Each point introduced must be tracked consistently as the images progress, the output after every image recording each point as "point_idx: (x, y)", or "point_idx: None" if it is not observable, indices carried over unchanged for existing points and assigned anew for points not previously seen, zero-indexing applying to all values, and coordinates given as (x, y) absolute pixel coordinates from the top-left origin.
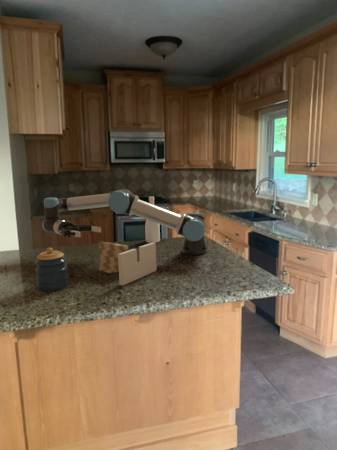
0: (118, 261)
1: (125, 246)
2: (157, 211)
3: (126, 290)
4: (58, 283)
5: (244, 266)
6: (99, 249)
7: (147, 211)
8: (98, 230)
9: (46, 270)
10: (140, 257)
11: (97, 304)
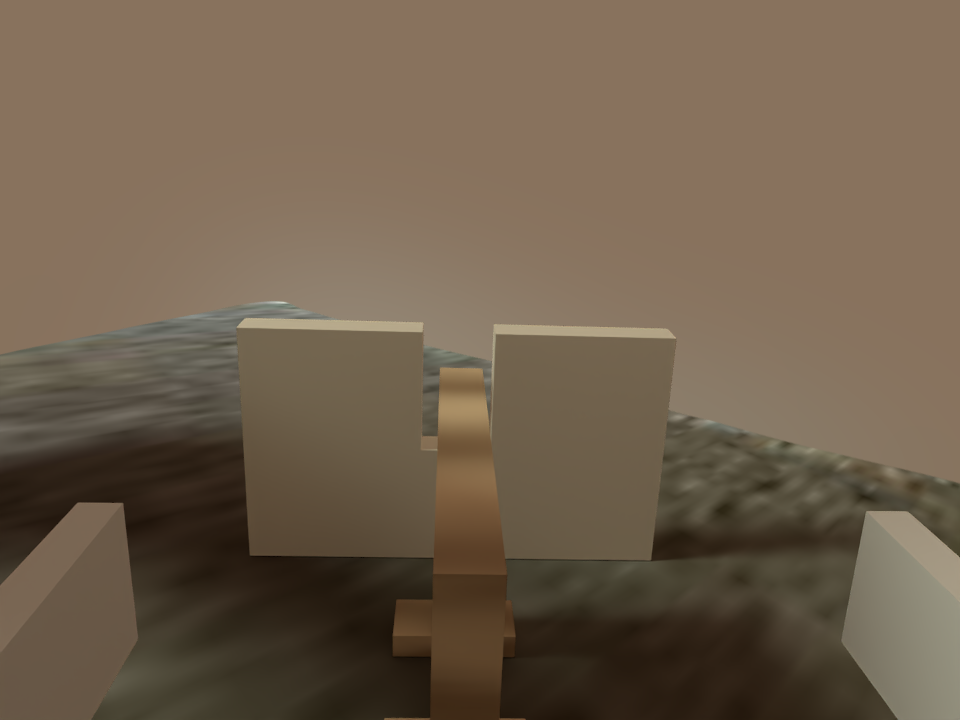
0: (669, 395)
1: (474, 369)
2: None
3: (674, 505)
4: None
5: (44, 359)
6: (499, 690)
7: None
8: (107, 634)
9: None
10: (421, 413)
11: (905, 507)
